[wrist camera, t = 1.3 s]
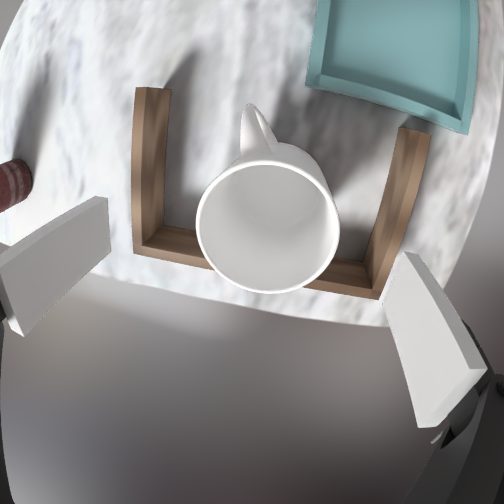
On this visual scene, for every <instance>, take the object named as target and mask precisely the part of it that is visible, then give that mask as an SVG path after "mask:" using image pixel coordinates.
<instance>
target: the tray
mask: <svg viewBox="0 0 504 504" xmlns="http://www.w3.org/2000/svg"><path fill="white" fill-rule="evenodd" d="M478 34H479V28H478V1H477V0H317V7H316V15H315V22H314V29H313V36H312V43H311V50H310V57H309V63H308V70H307V76H306V83H305V87H310V88H315V89H320V90H325V91H329V92H334V93H338V94H342V95H346V96H350V97H354V98H358V99H362V100H366V101H369V102H373V103H376V104H379V105H383V106H386V107H389V108H392V109H395V110H398V111H401V112H404V113H407V114H410V115H413V116H416V117H418V118H421V119H424V120H426V121H429V122H431V123H434V124H436V125H439V126H441V127H444V128H446V129H449V130H451V131H453V132H456V133H461V134H465V135H468V132H469V127H470V121H471V115H472V109H473V102H474V94H475V85H476V75H477V62H478Z"/></svg>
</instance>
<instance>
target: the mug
mask: <svg viewBox="0 0 504 504" xmlns="http://www.w3.org/2000/svg"><path fill="white" fill-rule="evenodd" d="M196 232H197V237H198V242H199V245H200V247H201V250H202V252H203V254H204V256H205V258H206V259H207V261H208V262H209V263H210V265H211V266H212V267H213V268H214V269H215V270H216V271H217V272H218V273H219V274H220V275H221V276H222V277H223V278H225V279H226V280H228V281H229V282H231V283H233V284H235V285H236V286H239V287H241V288H243V289H246V290H250V291H253V292H259V293H270V294H271V293H283V292H288V291H292V290H295V289H298V288H300V287H303V286H305V285H306V284H308V283H310V282H311V281H313V280H314V279H315V278H317V277H318V276H319V275H320V274H321V273H322V272H323V271H324V270H325V269H326V267H327V266H328V265H329V264H330V262H331V260H332V259H333V257H334V255H335V252H336V250H337V247H338V243H339V237H340V220H339V215H338V211H337V208H336V205H335V202H334V200H333V197H332V195H331V192H330V190H329V187H328V185H327V183H326V180H325V178H324V175H323V173H322V171H321V169H320V167H319V165H318V164H317V163H316V161H315V160H314V159H313V158H312V157H311V156H310V155H309V154H308V153H307V152H305V151H304V150H302V149H300V148H299V147H296V146H294V145H291V144H287V143H280V142H278V141H277V139H276V138H275V136H274V134H273V132H272V130H271V128H270V126H269V125H268V123H267V121H266V119H265V118H264V116H263V115H262V114H261V112H260V111H259V110H258V109H257V107H256V106H254V105H253V104H247V105H246V107H245V108H244V111H243V114H242V120H241V135H240V158H239V159H237V160H236V161H235V162H234V163H233V164H231V165H230V166H229V167H228V168H227V169H226V170H224V171H223V172H222V173H221V174H220V175H219V176H217V177H216V178H215V179H214V180H213V181H212V182H211V184H210V185H209V186H208V188H207V189H206V190H205V192H204V194H203V196H202V198H201V200H200V203H199V206H198V209H197V215H196Z"/></svg>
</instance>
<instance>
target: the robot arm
mask: <svg viewBox="0 0 504 504" xmlns="http://www.w3.org/2000/svg"><path fill="white" fill-rule="evenodd" d="M110 252H111V241H110V229H109V214H108V198H104V197H97V196H95V197H93V198H91V199H89V200H87V201H85V202H83V203H82V204H80V205H78V206H76V207H74V208H73V209H71V210H69V211H67V212H66V213H64V214H62V215H60V216H59V217H57V218H55V219H54V220H52V221H50V222H49V223H47V224H45V225H44V226H42V227H41V228H39V229H37V230H36V231H34V232H33V233H31V234H30V235H28V236H26V237H25V238H23V239H22V240H20V241H19V242H17V243H16V244H14V245H13V246H11V247H10V248H9V249H7V250H6V251H4V252H3V253H1V254H0V377H1V358H2V347H3V337H4V326H3V323H2V320H4V319H5V318H6V317H7V320H8V322H9V324H10V327H11V329H12V330H13V331H15V332H17V333H18V334H20V335H22V336H23V337H24V336H25V335H26V334H27V333H28V332H29V331H30V330H31V329H32V328H33V327H34V326H35V324H36V323H37V322H38V321H39V320H40V319H41V318H42V317H43V316H44V315H45V314H46V313H47V312H48V311H49V310H50V309H51V308H52V307H53V306H54V305H55V304H56V303H57V302H58V301H59V300H60V299H61V298H62V297H63V296H64V295H65V294H66V293H67V292H68V291H69V290H70V289H71V288H72V287H73V286H74V285H75V284H76V283H77V282H78V281H79V280H81V279H82V278H83V277H84V276H85V275H86V274H87V273H88V272H89V271H90V270H91V269H92V268H94V267H95V266H96V265H97V264H98V263H99V262H100V261H101V260H102V259H103V258H105V257H106V256H107V255H108V254H109V253H110ZM382 305H383V308H384V311H385V313H386V316H387V319H388V322H389V325H390V328H391V331H392V334H393V337H394V340H395V343H396V347H397V349H398V353H399V356H400V359H401V363H402V366H403V370H404V373H405V377H406V380H407V384H408V387H409V391H410V395H411V399H412V403H413V407H414V411H415V416H416V420H417V425H418V428H423V427H434V426H437V425H438V424H439V423H440V422H441V421H442V420H443V419H444V418H445V417H446V416H447V415H448V419H449V422H450V424H449V425H448V426H447V427H446V428H445V429H444V430H442V431H441V432H440V433H439V434H438V435H437V436H436V437H435V438H434V439H433V440H432V441H431V443H432V444H433V443H434V442H436V441H437V440H438V439H439V441H438V443H437V445H436V447H435V449H434V451H433V453H432V454H431V456H430V458H429V460H428V462H427V463H426V465H425V467H424V469H423V470H422V472H421V474H420V475H419V477H418V479H417V480H416V482H415V484H414V485H413V487H412V488H411V490H410V491H409V493H408V494H407V496H406V497H405V499H404V500H403V502H402V503H401V504H504V375H502V374H496V375H495V374H494V372H493V370H492V368H491V366H490V364H489V362H488V360H487V358H486V356H485V354H484V352H483V350H482V348H480V345H479V343H478V342H477V340H476V339H475V336H474V334H473V332H472V331H471V329H470V327H469V326H468V325H467V324H466V323H465V322H464V321H463V320H462V319H461V318H460V317H459V315H458V314H457V312H456V311H455V309H454V307H453V306H452V304H451V302H450V301H449V299H448V298H447V296H446V295H445V293H444V291H443V290H442V288H441V287H440V285H439V284H438V282H437V281H436V279H435V278H434V276H433V275H432V273H431V272H430V271H429V269H428V268H427V266H426V265H425V263H424V262H423V261H422V259H421V258H420V256H419V255H418V254H414V253H409V252H405V251H403V254H402V256H401V259H400V262H399V264H398V267H397V269H396V272H395V275H394V277H393V279H392V282H391V284H390V287H389V289H388V292H387V294H386V296H385V298H384V301H383V303H382ZM0 504H15V503H14V501H13V499H12V496H11V492H10V487H9V482H8V477H7V472H6V465H5V459H4V452H3V443H2V432H1V413H0Z"/></svg>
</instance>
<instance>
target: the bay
mask: <svg viewBox="0 0 504 504" xmlns="http://www.w3.org/2000/svg"><path fill="white" fill-rule="evenodd" d="M170 98H171V89H162V88H151V87H136V91H135V101H134V114H133V129H132V151H131V215H132V237H133V253H134V254H138V255H143V256H147V257H152V258H157V259H161V260H166V261H171V262H176V263H180V264H185V265H190V266H195V267H200V268H205V269H210V270H215V269H214V268H213V267H212V266H211V265H210V263H209V262H208V261H207V259H206V258H205V256H204V254H203V252H202V250H201V247H200V245H199V242H198V237H197V232H196V231H193V230H188V229H182V228H177V227H171V226H165V225H163V223H164V181H165V160H166V144H167V130H168V119H169V108H170ZM430 139H431V135H429V134H426V133H423V132H421V131H416V130H412V129H407V128H402V127H399V130H398V135H397V140H396V144H395V149H394V154H393V158H392V162H391V166H390V170H389V175H388V178H387V182H386V186H385V190H384V194H383V197H382V201H381V205H380V208H379V212H378V215H377V218H376V222H375V225H374V228H373V232H372V235H371V238H370V241H369V244H368V247H367V250H366V253H365V256H364V259H363V262H359V261H354V260H349V259H344V258H339V257H333V259H332V260H331V262H330V264H329V265H328V266H327V267H326V269H325V270H324V271H323V272H322V273H321V274H320V275H319V276H318V277H317V278H315V279H314V280H313V281H311V282H310V283H308V284H306V285H305V286H303V287H304V288H310V289H315V290H321V291H327V292H333V293H338V294H344V295H350V296H356V297H362V298H368V299H374V300H379V298H380V295H381V293H382V291H383V288H384V286H385V283H386V281H387V279H388V276H389V274H390V271H391V268H392V266H393V263H394V261H395V258H396V255H397V253H398V250H399V247H400V244H401V242H402V239H403V236H404V233H405V230H406V227H407V224H408V221H409V218H410V215H411V211H412V208H413V205H414V202H415V198H416V195H417V191H418V188H419V184H420V181H421V177H422V173H423V169H424V165H425V161H426V157H427V153H428V148H429V144H430ZM215 271H216V270H215Z"/></svg>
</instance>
